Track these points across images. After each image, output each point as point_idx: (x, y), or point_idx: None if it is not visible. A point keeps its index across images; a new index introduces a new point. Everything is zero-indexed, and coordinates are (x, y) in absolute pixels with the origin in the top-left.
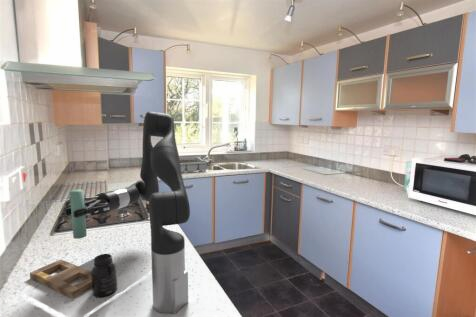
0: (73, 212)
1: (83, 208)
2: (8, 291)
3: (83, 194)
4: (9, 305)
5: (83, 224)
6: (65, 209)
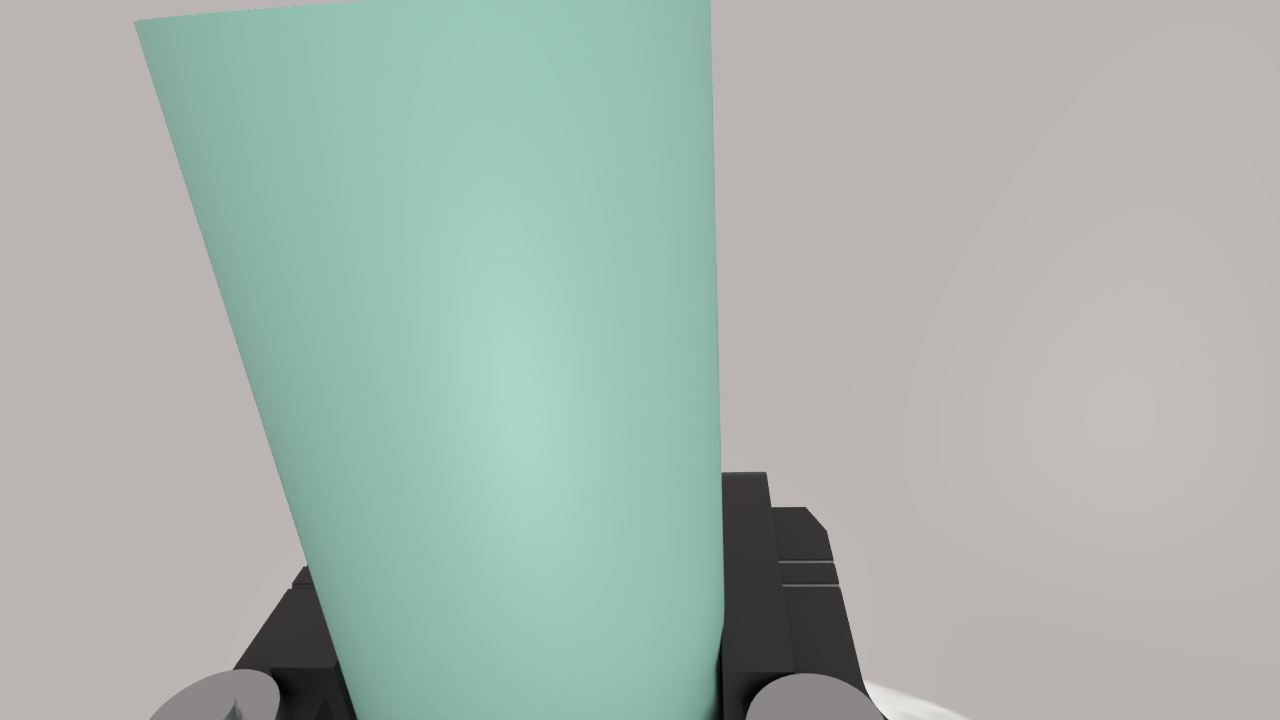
0: None
1: (321, 646)
2: (877, 702)
3: (215, 253)
4: None
5: None
6: (750, 474)
